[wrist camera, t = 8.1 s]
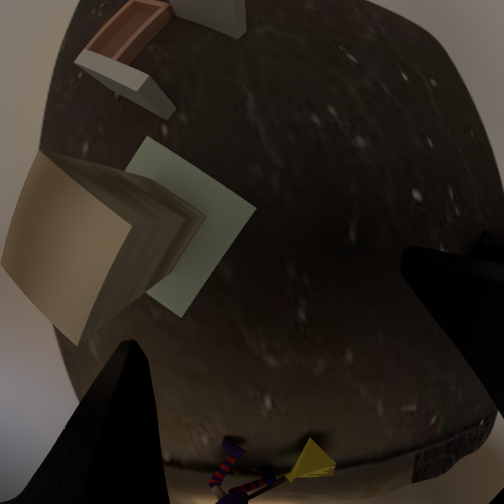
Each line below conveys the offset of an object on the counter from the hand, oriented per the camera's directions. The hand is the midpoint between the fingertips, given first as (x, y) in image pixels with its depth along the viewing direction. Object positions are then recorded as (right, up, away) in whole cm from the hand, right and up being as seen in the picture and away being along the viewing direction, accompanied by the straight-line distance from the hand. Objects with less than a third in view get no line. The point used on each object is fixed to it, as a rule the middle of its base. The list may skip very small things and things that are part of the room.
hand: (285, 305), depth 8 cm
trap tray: (-12, +21, +9) cm, 26 cm away
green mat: (-8, +3, +12) cm, 14 cm away
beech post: (-8, +3, +11) cm, 14 cm away
